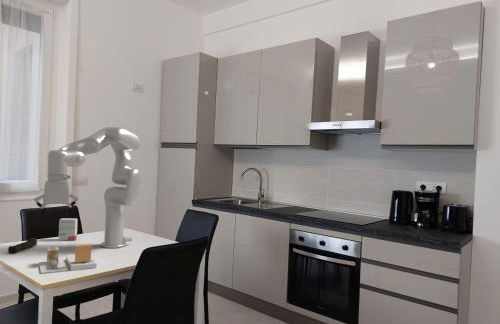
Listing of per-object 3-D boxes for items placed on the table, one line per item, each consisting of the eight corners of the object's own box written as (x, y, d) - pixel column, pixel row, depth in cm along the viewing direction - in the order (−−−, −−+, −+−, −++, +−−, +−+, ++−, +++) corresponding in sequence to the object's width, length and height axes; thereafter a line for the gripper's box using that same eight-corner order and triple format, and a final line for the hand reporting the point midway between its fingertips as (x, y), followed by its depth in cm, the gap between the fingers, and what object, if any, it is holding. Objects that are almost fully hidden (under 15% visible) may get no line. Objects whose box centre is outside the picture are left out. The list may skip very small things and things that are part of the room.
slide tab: (89, 259, 167) (90, 243, 167) (90, 261, 164) (91, 245, 164) (74, 260, 163) (75, 244, 163) (75, 262, 161) (76, 246, 161)
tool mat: (64, 261, 171) (64, 259, 171) (68, 270, 157) (68, 269, 157) (38, 263, 165) (38, 262, 165) (40, 273, 152) (40, 272, 152)
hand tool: (15, 254, 178) (15, 244, 178) (7, 254, 178) (7, 244, 178) (41, 245, 197) (41, 236, 197) (34, 245, 197) (34, 236, 197)
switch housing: (89, 257, 178) (89, 253, 178) (96, 267, 163) (96, 263, 163) (66, 259, 173) (66, 255, 173) (70, 270, 158) (71, 265, 158)
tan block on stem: (56, 260, 170) (57, 247, 170) (60, 268, 158) (60, 254, 158) (46, 261, 167) (47, 247, 167) (49, 269, 156) (49, 255, 156)
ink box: (77, 238, 215) (78, 218, 214) (74, 240, 210) (75, 219, 210) (60, 238, 213) (61, 217, 213) (58, 240, 208) (59, 219, 208)
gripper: (77, 177, 174) (76, 214, 175) (34, 177, 165) (33, 216, 165) (79, 178, 168) (78, 217, 168) (35, 178, 159) (33, 219, 159)
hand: (56, 216), depth 167 cm, fingers open, 9 cm apart
